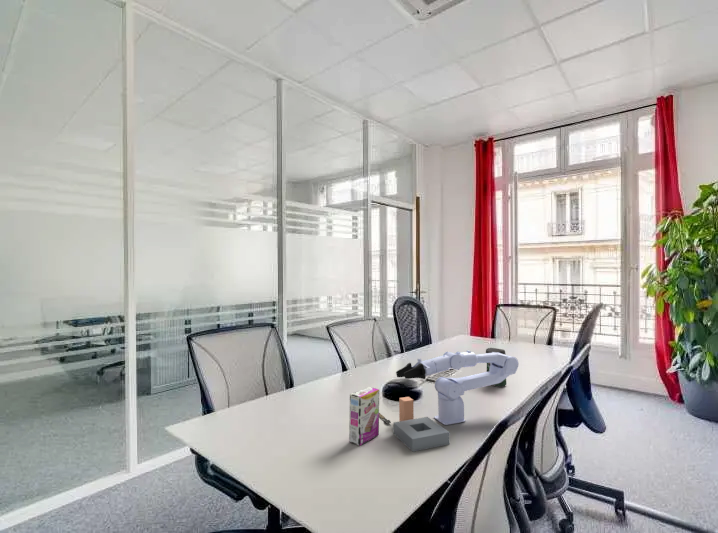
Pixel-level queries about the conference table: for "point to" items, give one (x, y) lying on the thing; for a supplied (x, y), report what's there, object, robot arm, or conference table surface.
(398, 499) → the conference table surface
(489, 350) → the coffee jar
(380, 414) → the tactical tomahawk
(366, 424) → the candy bar box
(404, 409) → the peg
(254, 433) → the conference table surface
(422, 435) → the socket block
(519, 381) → the conference table surface
